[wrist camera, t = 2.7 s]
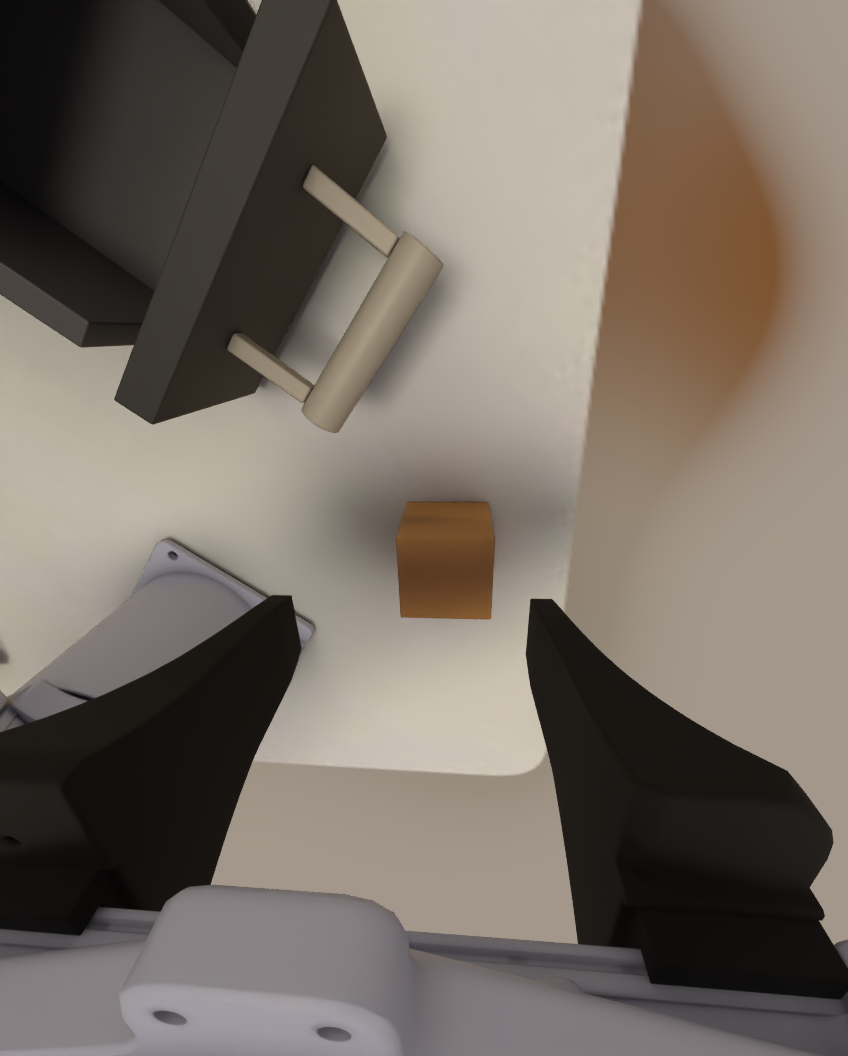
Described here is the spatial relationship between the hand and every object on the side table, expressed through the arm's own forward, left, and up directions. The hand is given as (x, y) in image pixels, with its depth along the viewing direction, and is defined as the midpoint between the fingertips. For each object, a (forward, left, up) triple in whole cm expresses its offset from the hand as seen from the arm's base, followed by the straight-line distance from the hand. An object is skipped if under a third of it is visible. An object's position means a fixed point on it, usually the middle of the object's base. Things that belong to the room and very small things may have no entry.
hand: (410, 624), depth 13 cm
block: (-2, +1, -9) cm, 9 cm away
